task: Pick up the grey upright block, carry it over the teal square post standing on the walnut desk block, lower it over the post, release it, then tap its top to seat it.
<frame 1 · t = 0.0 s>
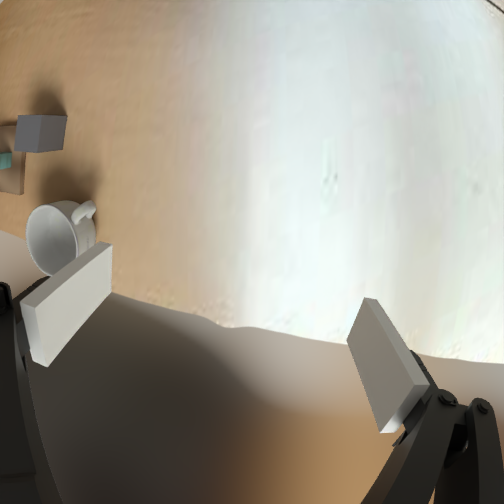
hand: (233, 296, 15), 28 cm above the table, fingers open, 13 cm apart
grey upright block: (52, 132, 38), on the table
teacup: (83, 223, 43), on the table
stand: (11, 158, 39), on the table
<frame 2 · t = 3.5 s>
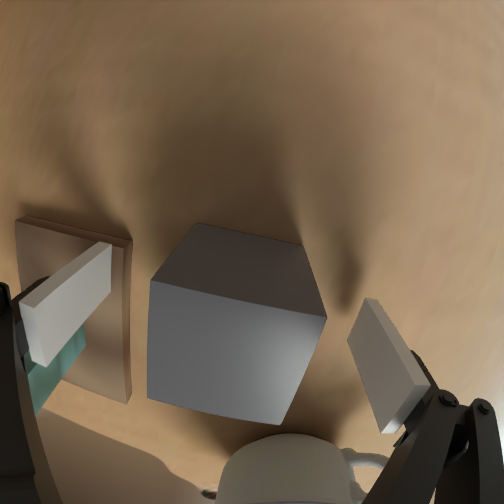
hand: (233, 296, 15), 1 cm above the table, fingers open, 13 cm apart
grey upright block: (239, 282, 16), on the table
teacup: (303, 446, 21), on the table
stand: (76, 314, 17), on the table
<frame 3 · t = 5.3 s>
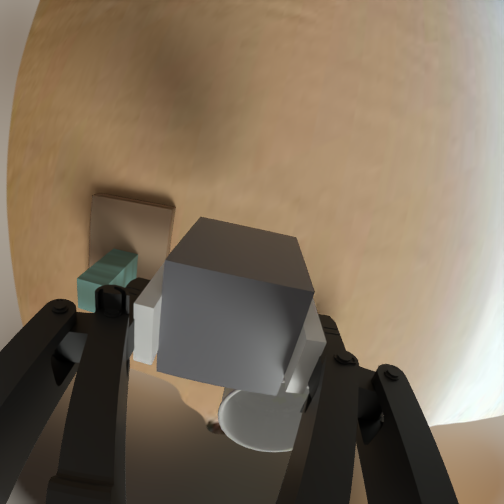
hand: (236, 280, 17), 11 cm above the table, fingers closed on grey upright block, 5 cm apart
grey upright block: (238, 271, 18), point 10 cm above the table, touching gripper
teacup: (285, 365, 33), on the table
stand: (129, 259, 28), on the table
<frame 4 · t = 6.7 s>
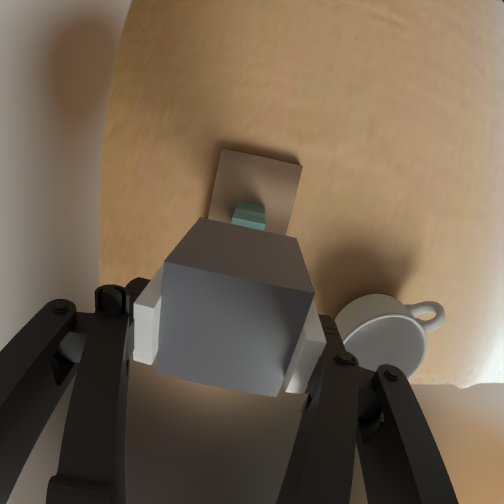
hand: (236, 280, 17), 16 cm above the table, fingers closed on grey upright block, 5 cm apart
grey upright block: (238, 272, 18), point 15 cm above the table, touching gripper
teacup: (375, 315, 36), on the table
stand: (249, 213, 32), on the table
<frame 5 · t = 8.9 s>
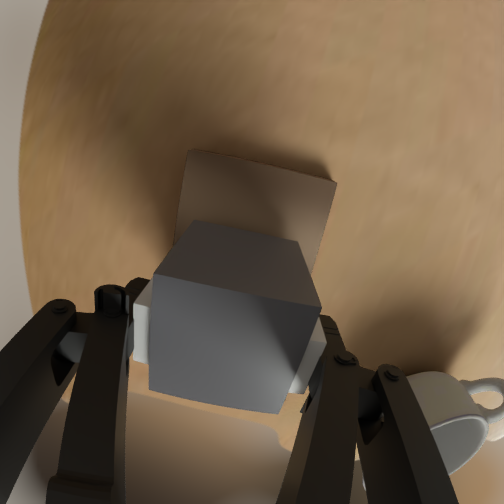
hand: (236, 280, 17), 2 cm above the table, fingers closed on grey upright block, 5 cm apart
grey upright block: (235, 277, 16), point 2 cm above the table, touching gripper, stand
teacup: (417, 389, 23), on the table
stand: (241, 261, 19), on the table
when the fingers open (2 cm above the table, at t = 9.2 s): grey upright block stays where it is, resting on stand.
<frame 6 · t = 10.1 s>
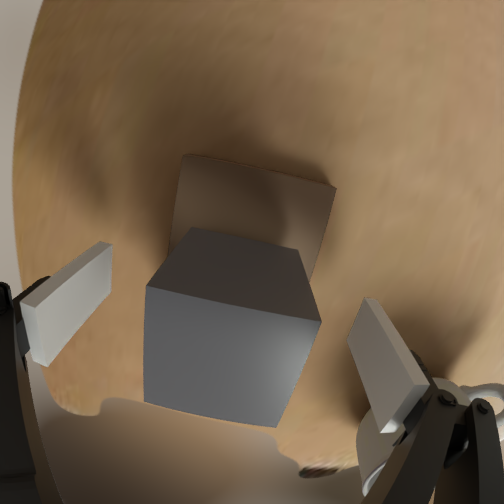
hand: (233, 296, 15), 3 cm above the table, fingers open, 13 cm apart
grey upright block: (234, 286, 16), point 2 cm above the table, touching stand
teacup: (417, 395, 22), on the table
stand: (238, 269, 18), on the table
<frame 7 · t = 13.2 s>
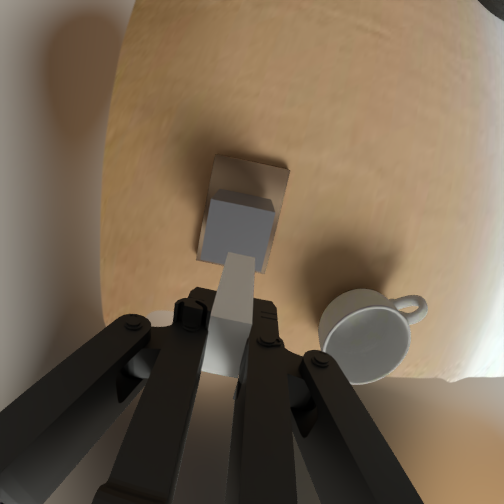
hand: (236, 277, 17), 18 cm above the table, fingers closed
grey upright block: (240, 218, 32), point 2 cm above the table, touching stand
teacup: (361, 309, 38), on the table
stand: (241, 214, 34), on the table
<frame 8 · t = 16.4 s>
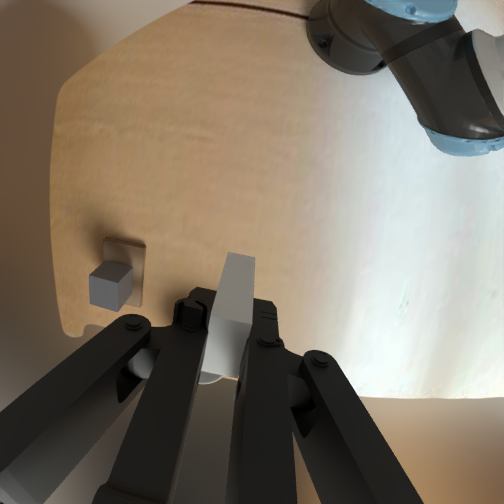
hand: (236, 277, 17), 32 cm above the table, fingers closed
grey upright block: (119, 277, 51), point 2 cm above the table, touching stand
stand: (123, 272, 53), on the table
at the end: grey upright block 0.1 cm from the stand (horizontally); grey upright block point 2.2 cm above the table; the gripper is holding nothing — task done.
